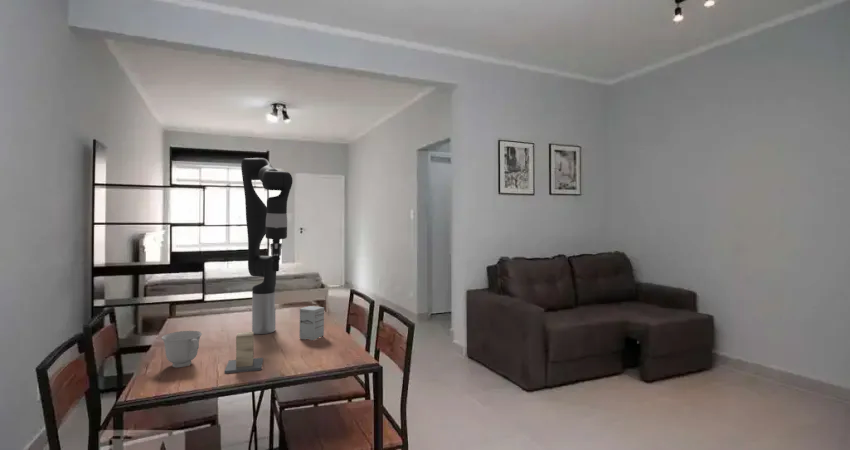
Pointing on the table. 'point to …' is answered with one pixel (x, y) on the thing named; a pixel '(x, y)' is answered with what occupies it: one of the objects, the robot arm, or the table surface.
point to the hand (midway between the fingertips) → (275, 269)
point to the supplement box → (311, 322)
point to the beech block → (244, 349)
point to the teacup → (181, 347)
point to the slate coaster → (255, 367)
